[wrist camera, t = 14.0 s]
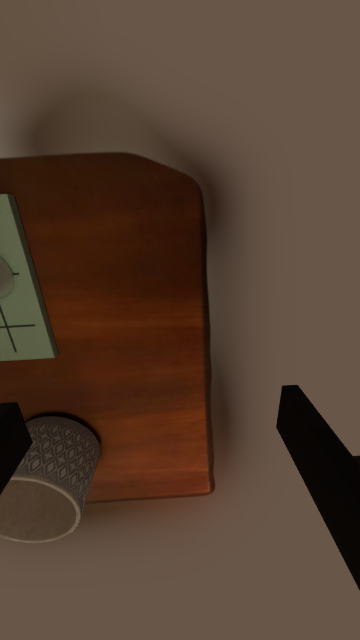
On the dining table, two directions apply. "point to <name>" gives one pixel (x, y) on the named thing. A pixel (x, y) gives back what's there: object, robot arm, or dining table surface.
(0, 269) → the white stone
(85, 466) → the planter
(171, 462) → the dining table surface
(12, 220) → the board
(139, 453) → the dining table surface
